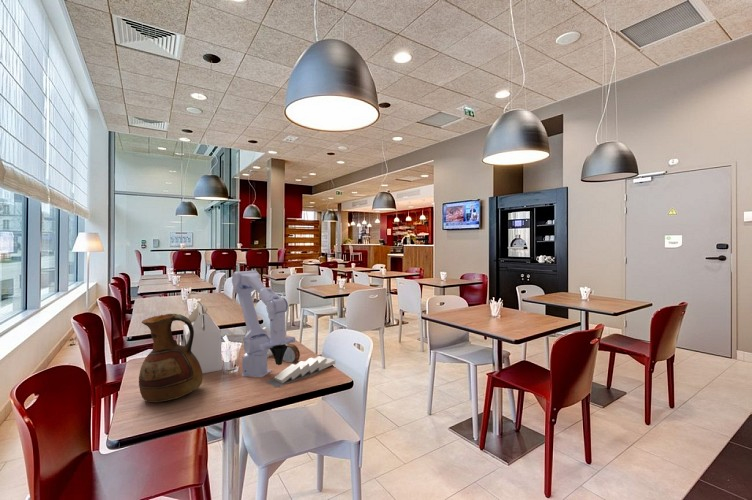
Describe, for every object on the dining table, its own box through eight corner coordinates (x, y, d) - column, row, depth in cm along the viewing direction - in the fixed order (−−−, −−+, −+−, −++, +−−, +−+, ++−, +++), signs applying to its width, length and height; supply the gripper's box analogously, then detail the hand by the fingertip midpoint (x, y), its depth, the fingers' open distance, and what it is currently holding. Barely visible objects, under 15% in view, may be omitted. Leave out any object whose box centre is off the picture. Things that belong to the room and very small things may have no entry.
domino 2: (291, 376, 142) (308, 363, 148) (284, 373, 146) (301, 360, 152) (292, 380, 143) (309, 366, 149) (285, 376, 146) (302, 363, 152)
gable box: (222, 370, 157) (220, 306, 156) (188, 376, 150) (185, 309, 149) (215, 356, 176) (213, 299, 175) (184, 362, 169) (182, 302, 168)
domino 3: (301, 373, 146) (317, 359, 152) (294, 370, 149) (310, 357, 155) (302, 376, 146) (318, 362, 152) (295, 373, 149) (311, 360, 155)
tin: (300, 363, 164) (300, 344, 164) (295, 365, 161) (295, 346, 161) (277, 358, 172) (277, 340, 172) (272, 359, 169) (271, 342, 169)
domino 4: (309, 370, 149) (326, 358, 155) (302, 367, 152) (318, 355, 158) (310, 373, 149) (327, 361, 155) (303, 370, 152) (319, 358, 159)
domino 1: (281, 380, 139) (299, 366, 145) (274, 377, 142) (292, 363, 148) (282, 383, 139) (300, 369, 145) (275, 380, 143) (293, 366, 149)
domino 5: (318, 367, 152) (335, 360, 159) (311, 364, 155) (327, 357, 162) (319, 370, 152) (335, 363, 159) (312, 367, 156) (328, 361, 162)
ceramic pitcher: (141, 392, 135) (138, 312, 134) (201, 381, 145) (198, 306, 144) (137, 413, 118) (133, 322, 117) (205, 399, 128) (202, 315, 127)
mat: (276, 388, 136) (276, 387, 136) (265, 383, 141) (265, 382, 141) (324, 371, 152) (324, 370, 152) (312, 367, 158) (312, 366, 158)
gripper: (266, 335, 132) (267, 371, 133) (299, 327, 143) (300, 361, 143) (256, 332, 137) (257, 367, 138) (289, 325, 148) (290, 357, 148)
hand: (278, 364), depth 141 cm, fingers closed
